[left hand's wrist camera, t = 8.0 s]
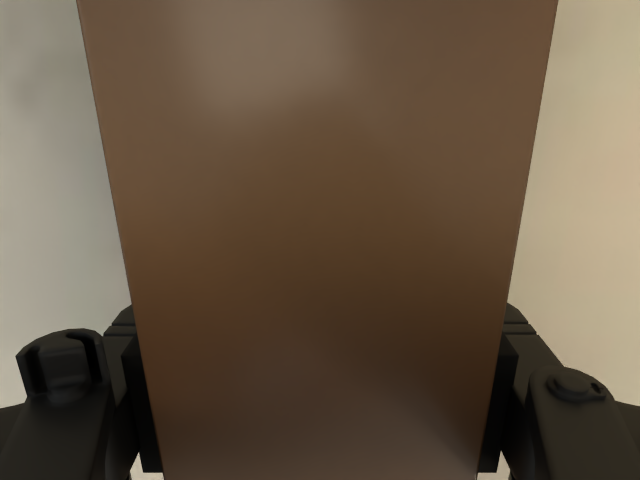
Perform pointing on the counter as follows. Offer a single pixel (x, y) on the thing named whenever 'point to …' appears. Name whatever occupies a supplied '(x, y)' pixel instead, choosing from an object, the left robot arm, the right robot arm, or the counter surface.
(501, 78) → the bar
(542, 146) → the counter surface
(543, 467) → the left robot arm
